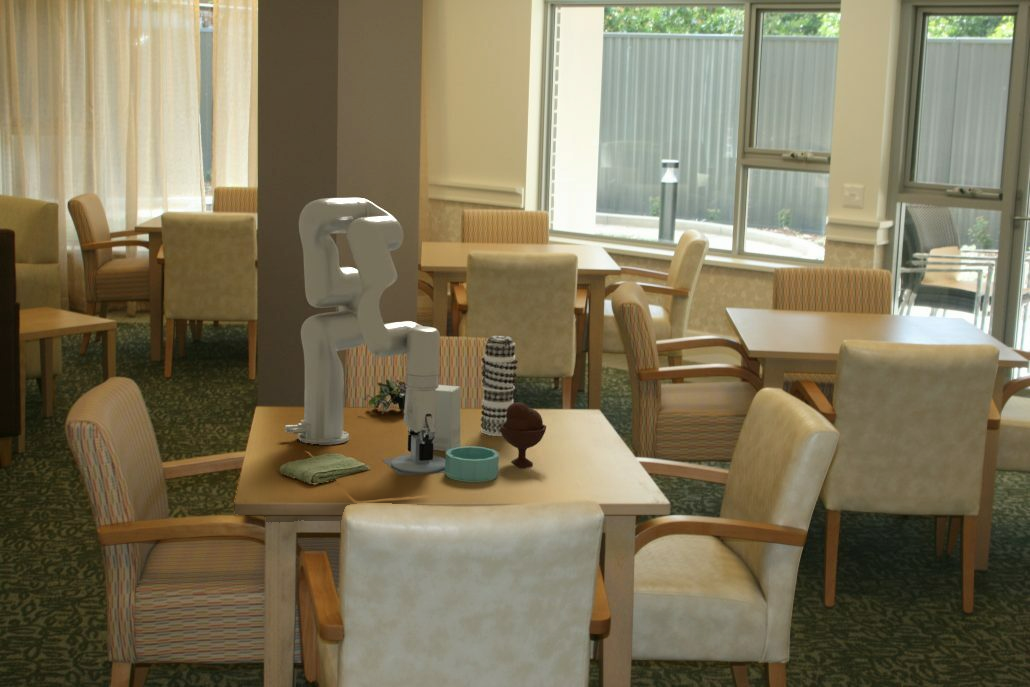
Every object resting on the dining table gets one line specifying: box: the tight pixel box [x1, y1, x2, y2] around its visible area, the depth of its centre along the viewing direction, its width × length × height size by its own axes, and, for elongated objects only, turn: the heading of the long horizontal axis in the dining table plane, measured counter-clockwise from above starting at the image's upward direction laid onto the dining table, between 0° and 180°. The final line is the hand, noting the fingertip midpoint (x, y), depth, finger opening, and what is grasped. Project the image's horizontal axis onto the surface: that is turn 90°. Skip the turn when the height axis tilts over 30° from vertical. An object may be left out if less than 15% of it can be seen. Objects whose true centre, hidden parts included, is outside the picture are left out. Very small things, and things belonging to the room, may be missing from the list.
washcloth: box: [279, 452, 371, 485], centre depth 286 cm, size 13×18×3 cm
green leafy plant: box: [363, 378, 407, 416], centre depth 343 cm, size 11×11×12 cm
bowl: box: [444, 445, 500, 483], centre depth 287 cm, size 12×12×6 cm
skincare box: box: [422, 384, 461, 452], centre depth 308 cm, size 8×7×16 cm
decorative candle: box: [480, 335, 518, 437], centre depth 326 cm, size 9×9×25 cm
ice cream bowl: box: [500, 401, 547, 469], centre depth 297 cm, size 11×11×15 cm
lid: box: [392, 435, 445, 474], centre depth 292 cm, size 13×13×7 cm
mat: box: [381, 454, 446, 477], centre depth 293 cm, size 14×14×1 cm
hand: (420, 455), depth 292 cm, fingers open, 7 cm apart
